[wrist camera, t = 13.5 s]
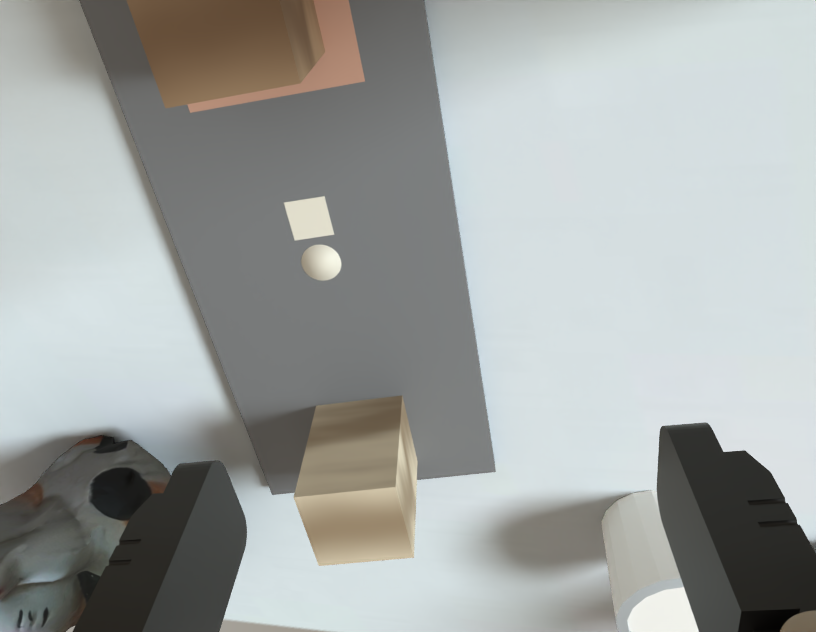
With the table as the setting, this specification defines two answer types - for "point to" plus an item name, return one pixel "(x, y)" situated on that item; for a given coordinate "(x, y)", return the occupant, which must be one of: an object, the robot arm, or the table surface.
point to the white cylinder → (643, 568)
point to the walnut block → (226, 45)
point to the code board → (320, 234)
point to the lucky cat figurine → (70, 531)
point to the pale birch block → (359, 482)
